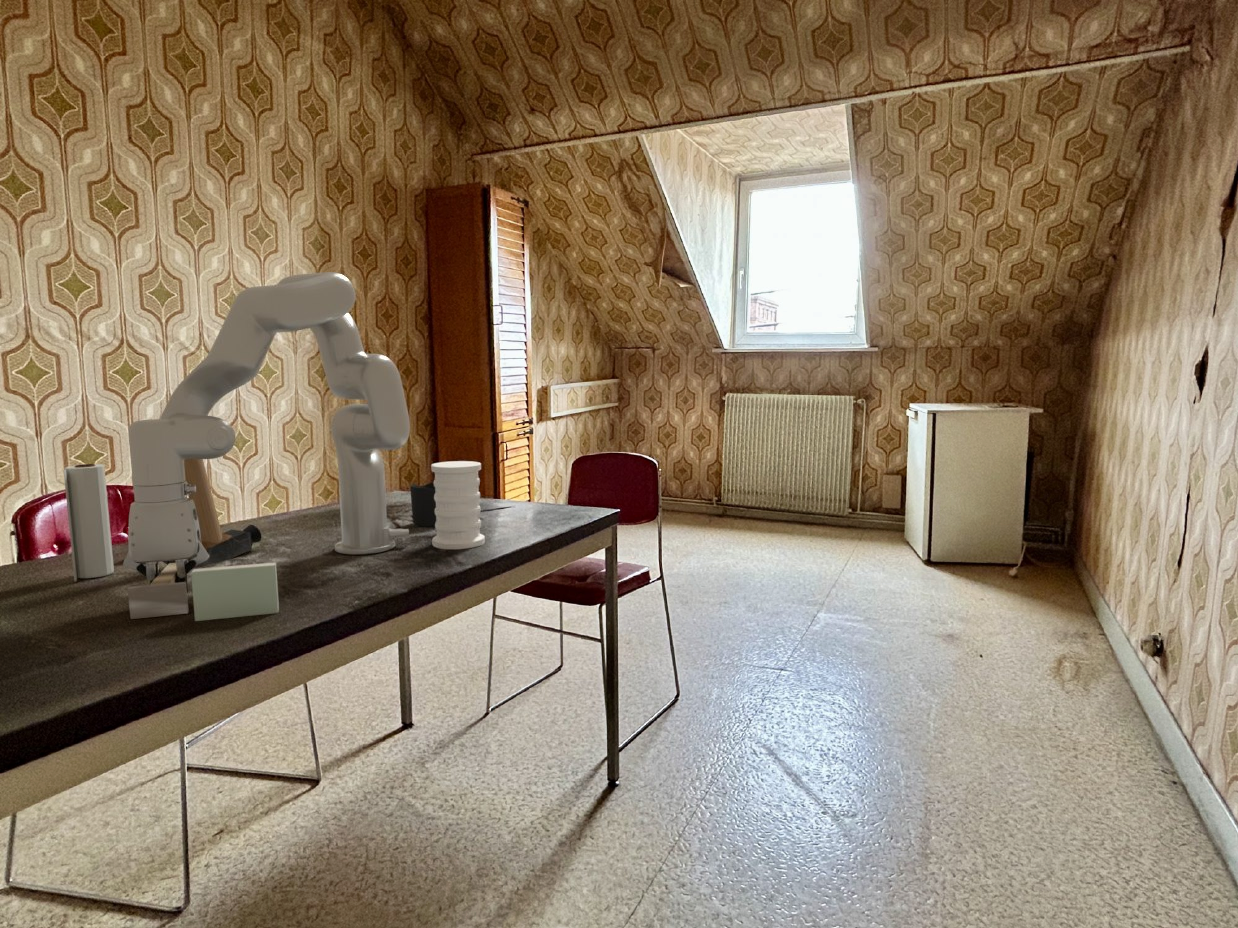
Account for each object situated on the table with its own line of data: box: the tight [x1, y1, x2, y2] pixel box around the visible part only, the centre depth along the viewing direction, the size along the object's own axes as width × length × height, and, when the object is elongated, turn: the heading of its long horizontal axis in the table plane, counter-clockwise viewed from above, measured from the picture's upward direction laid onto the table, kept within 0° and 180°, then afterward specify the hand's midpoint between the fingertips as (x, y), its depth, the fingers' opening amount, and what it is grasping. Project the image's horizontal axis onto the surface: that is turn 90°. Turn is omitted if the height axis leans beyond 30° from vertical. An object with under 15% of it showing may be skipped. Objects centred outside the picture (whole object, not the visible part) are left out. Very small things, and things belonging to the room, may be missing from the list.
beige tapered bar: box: [127, 563, 190, 620], centre depth 129 cm, size 15×8×5 cm, turn 19°
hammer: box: [161, 459, 262, 570], centre depth 153 cm, size 20×5×30 cm, turn 153°
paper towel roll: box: [63, 463, 115, 582], centre depth 145 cm, size 7×6×21 cm
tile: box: [190, 562, 280, 622], centre depth 122 cm, size 12×2×8 cm, turn 109°
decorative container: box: [430, 460, 486, 550], centre depth 170 cm, size 12×12×18 cm
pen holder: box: [409, 481, 436, 528], centre depth 192 cm, size 9×9×10 cm
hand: (170, 598), depth 129 cm, fingers closed on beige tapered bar, 2 cm apart
